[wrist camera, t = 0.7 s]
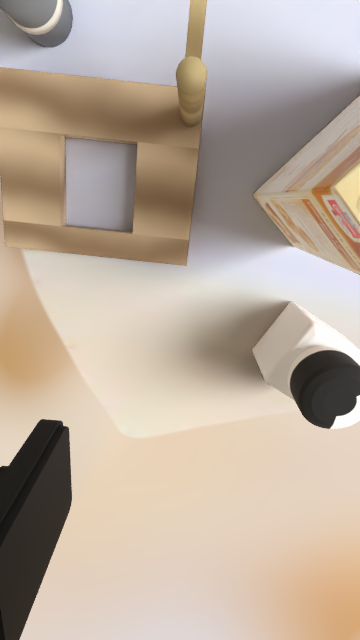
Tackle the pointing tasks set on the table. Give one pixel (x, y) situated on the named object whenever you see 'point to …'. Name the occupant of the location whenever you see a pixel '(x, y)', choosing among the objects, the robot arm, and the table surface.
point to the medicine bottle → (312, 367)
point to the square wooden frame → (105, 125)
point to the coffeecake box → (321, 193)
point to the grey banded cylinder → (41, 19)
